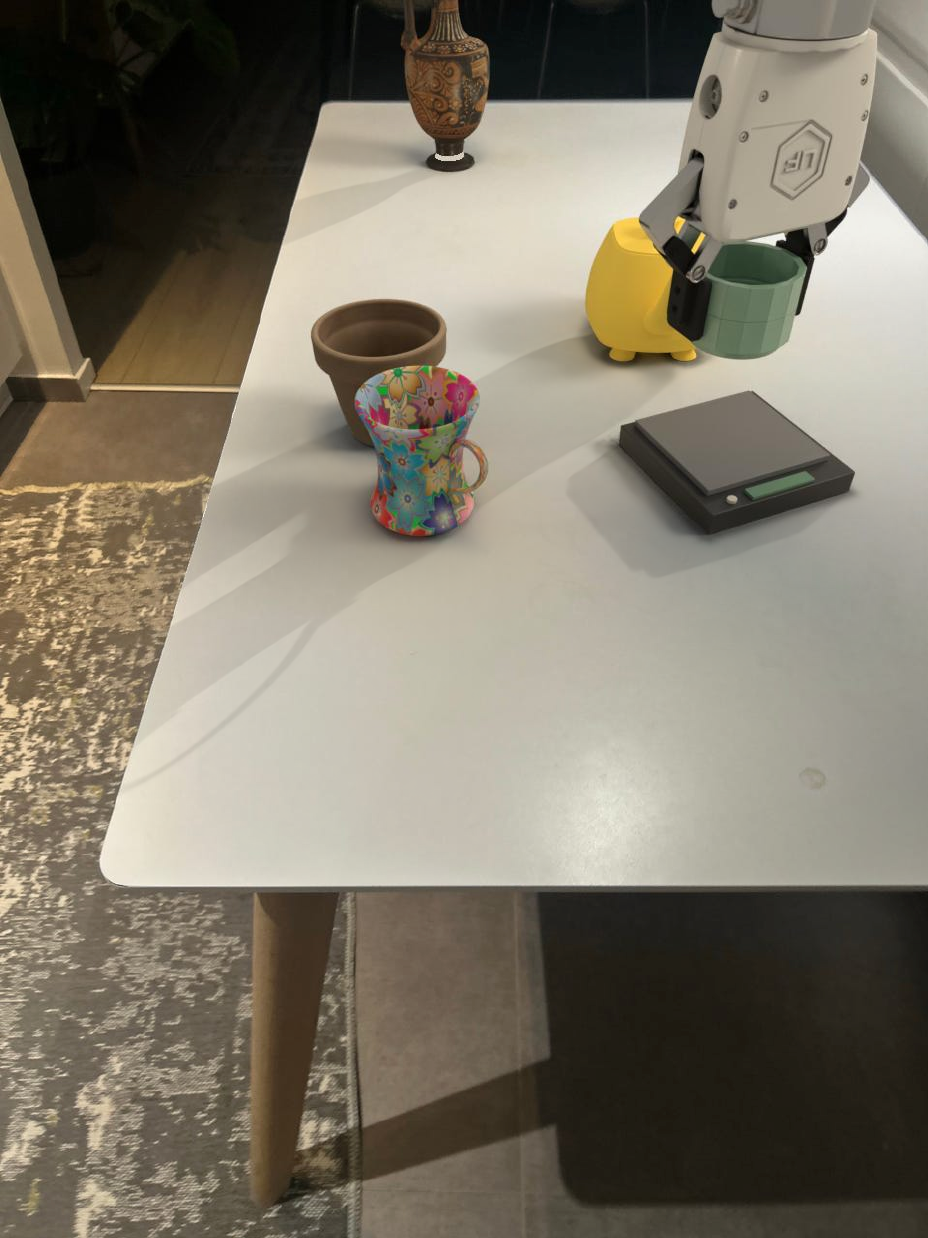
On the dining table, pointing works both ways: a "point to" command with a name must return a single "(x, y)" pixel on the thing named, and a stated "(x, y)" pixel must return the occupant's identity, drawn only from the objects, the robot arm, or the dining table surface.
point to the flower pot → (374, 346)
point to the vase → (445, 81)
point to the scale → (733, 460)
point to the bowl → (751, 300)
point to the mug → (421, 447)
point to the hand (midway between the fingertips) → (733, 317)
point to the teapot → (633, 295)
